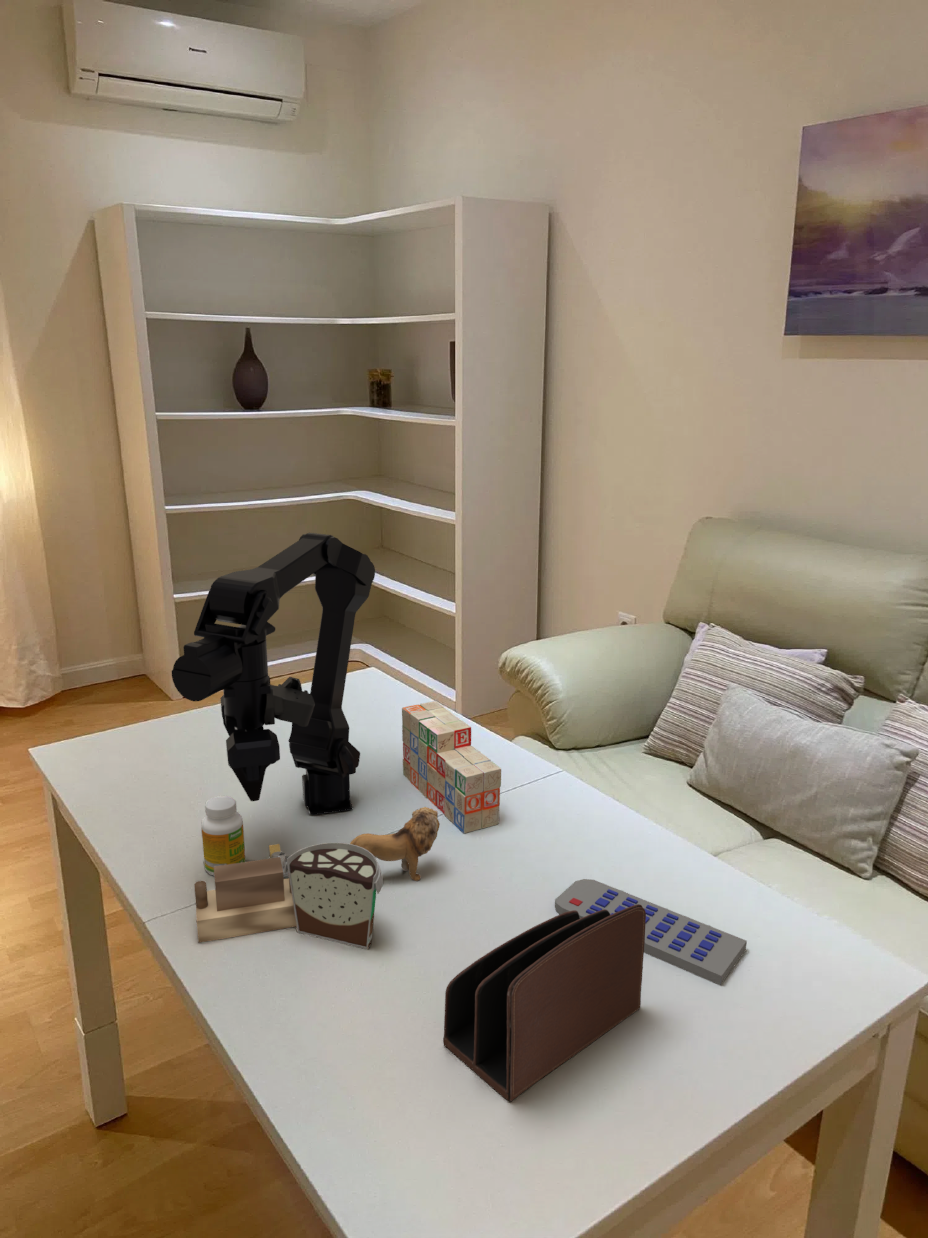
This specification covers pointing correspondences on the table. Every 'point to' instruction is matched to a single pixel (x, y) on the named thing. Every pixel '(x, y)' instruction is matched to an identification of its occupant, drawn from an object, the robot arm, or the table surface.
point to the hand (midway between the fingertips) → (252, 784)
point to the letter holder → (545, 996)
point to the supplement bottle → (222, 833)
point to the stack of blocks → (449, 767)
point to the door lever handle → (276, 852)
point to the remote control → (662, 930)
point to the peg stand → (240, 915)
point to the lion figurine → (404, 841)
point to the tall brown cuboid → (249, 883)
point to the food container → (335, 892)
